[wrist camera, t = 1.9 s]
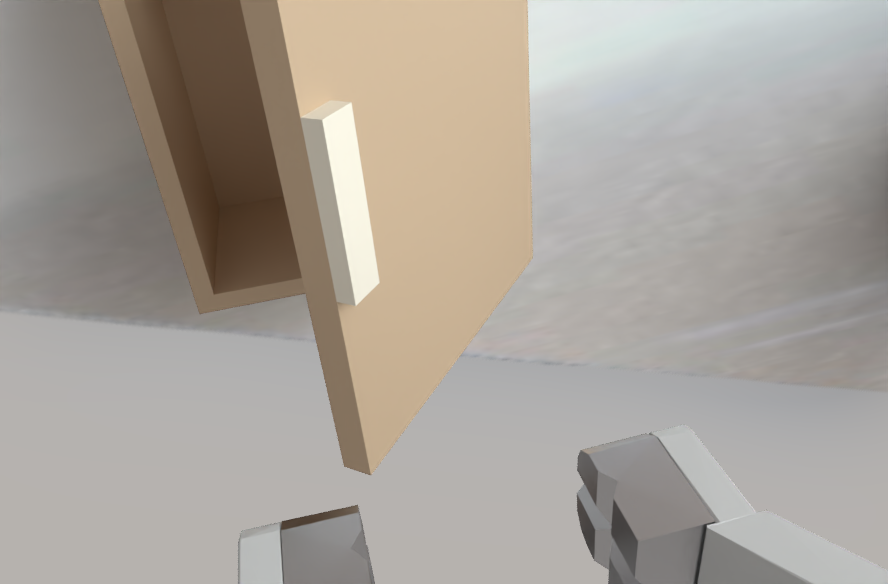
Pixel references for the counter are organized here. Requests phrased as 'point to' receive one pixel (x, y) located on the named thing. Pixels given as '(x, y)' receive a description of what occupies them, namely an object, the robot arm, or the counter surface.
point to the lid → (397, 187)
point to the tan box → (208, 145)
